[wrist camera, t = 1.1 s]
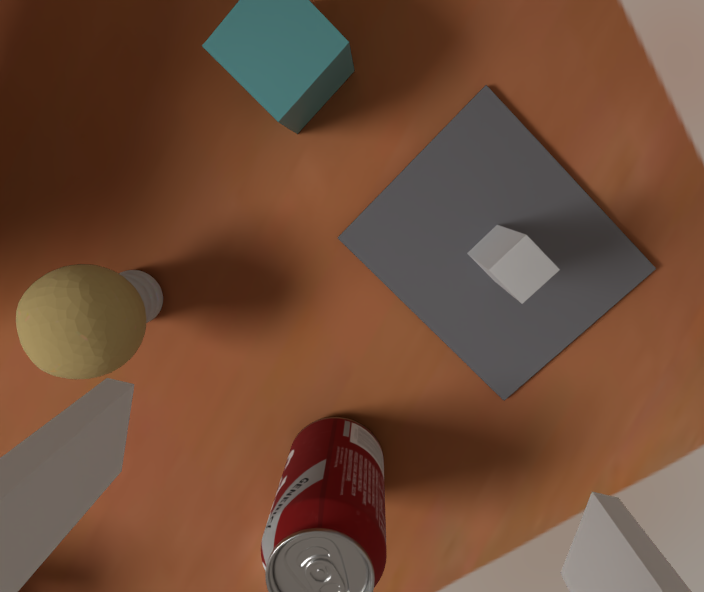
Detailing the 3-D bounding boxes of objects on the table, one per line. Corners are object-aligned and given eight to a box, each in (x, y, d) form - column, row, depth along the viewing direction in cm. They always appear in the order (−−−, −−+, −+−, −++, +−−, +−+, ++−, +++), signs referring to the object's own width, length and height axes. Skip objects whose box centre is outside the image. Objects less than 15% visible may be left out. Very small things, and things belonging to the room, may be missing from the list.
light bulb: (82, 259, 35) (-31, 288, 25) (171, 240, 34) (90, 263, 25) (110, 346, 36) (13, 407, 26) (196, 329, 36) (129, 385, 26)
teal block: (236, 73, 32) (202, 46, 25) (293, 7, 31) (271, -39, 24) (297, 134, 33) (278, 121, 26) (354, 71, 32) (349, 42, 25)
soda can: (359, 398, 36) (352, 501, 25) (398, 476, 37) (408, 610, 26) (275, 433, 37) (229, 548, 25) (315, 509, 38) (289, 652, 27)
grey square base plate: (338, 237, 34) (328, 250, 27) (484, 86, 31) (514, 59, 25) (502, 397, 36) (532, 448, 29) (652, 267, 33) (723, 289, 26)
